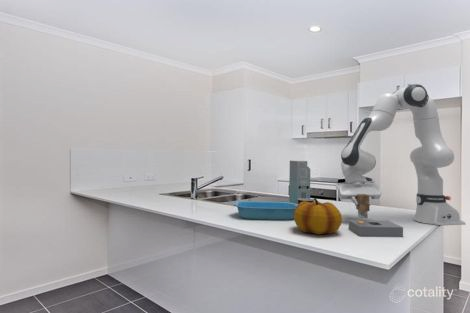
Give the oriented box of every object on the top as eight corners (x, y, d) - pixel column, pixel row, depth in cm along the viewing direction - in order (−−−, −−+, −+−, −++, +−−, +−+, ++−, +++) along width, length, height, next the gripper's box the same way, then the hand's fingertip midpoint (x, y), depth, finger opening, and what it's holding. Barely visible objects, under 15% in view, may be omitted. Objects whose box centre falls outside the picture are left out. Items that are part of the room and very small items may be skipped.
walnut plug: (364, 215, 153) (364, 193, 152) (369, 218, 147) (369, 195, 146) (356, 215, 153) (356, 193, 152) (361, 218, 147) (360, 195, 146)
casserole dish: (296, 213, 179) (297, 201, 179) (305, 221, 157) (305, 207, 157) (233, 212, 179) (233, 200, 179) (232, 220, 157) (232, 206, 157)
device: (309, 213, 178) (310, 161, 178) (296, 213, 177) (297, 161, 177) (300, 208, 194) (301, 160, 194) (288, 208, 194) (289, 160, 193)
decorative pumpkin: (294, 236, 128) (294, 200, 127) (293, 224, 149) (293, 193, 149) (345, 239, 124) (345, 202, 124) (336, 226, 146) (337, 195, 146)
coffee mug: (310, 220, 159) (311, 201, 158) (294, 218, 163) (295, 199, 163) (317, 216, 168) (318, 198, 168) (302, 215, 173) (302, 197, 173)
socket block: (387, 229, 142) (387, 219, 142) (402, 236, 129) (403, 225, 129) (348, 228, 142) (348, 218, 142) (359, 236, 129) (359, 225, 129)
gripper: (336, 179, 156) (343, 201, 147) (377, 178, 156) (386, 201, 147) (333, 187, 161) (340, 209, 151) (373, 186, 161) (382, 208, 151)
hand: (363, 205), depth 149 cm, fingers closed on walnut plug, 4 cm apart
